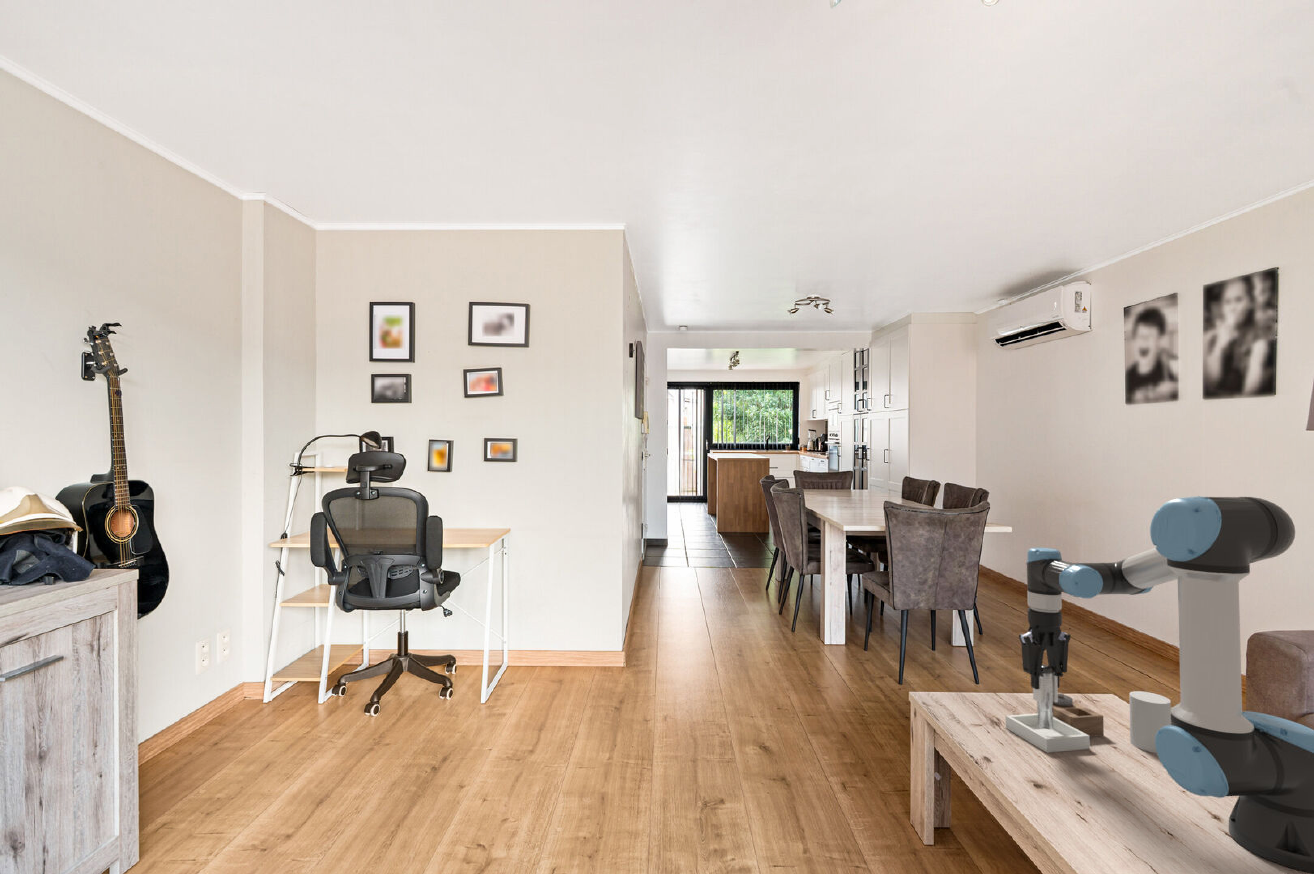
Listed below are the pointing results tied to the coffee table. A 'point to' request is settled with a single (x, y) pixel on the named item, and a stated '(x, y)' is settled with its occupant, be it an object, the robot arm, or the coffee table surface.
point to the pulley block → (1077, 716)
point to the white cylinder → (1147, 718)
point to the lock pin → (1046, 699)
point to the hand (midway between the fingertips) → (1045, 700)
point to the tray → (1047, 733)
